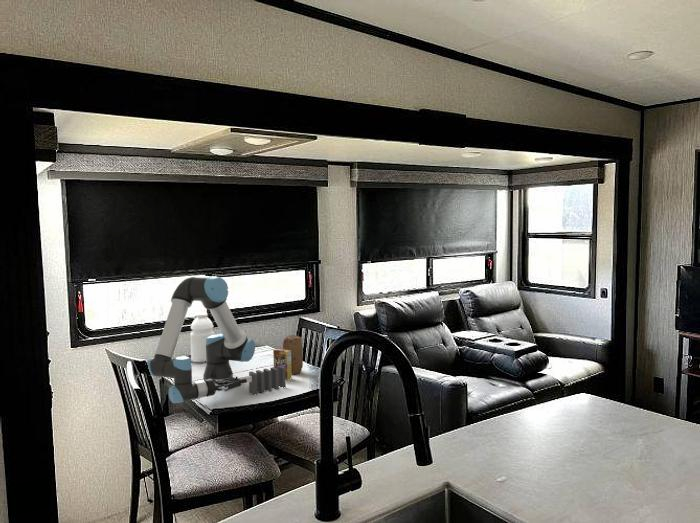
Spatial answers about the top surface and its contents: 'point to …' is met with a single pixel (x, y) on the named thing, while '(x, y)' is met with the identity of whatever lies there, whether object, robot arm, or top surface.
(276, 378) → the domino
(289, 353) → the candy box
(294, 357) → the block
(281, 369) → the domino
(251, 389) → the domino
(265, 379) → the domino
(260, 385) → the domino
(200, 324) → the bottle
